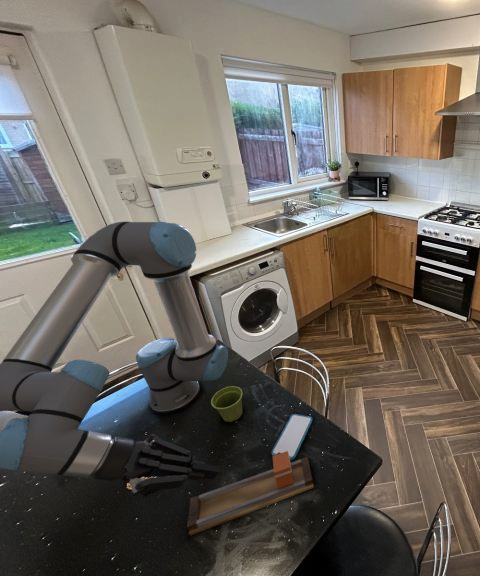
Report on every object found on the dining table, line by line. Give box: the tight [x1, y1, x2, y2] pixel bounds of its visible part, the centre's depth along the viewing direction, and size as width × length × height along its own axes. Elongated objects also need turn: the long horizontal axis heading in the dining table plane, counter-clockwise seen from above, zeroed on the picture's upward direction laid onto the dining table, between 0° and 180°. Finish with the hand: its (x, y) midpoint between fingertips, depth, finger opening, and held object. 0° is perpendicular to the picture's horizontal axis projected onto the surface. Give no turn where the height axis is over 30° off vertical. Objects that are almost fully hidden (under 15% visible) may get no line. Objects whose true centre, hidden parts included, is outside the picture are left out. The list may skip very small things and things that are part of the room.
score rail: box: [186, 456, 315, 537], centre depth 83 cm, size 8×30×3 cm, turn 112°
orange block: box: [271, 451, 294, 489], centre depth 83 cm, size 5×4×9 cm
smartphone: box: [271, 413, 313, 461], centre depth 99 cm, size 8×1×15 cm
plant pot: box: [210, 385, 244, 423], centre depth 104 cm, size 9×9×9 cm
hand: (216, 473), depth 75 cm, fingers closed
